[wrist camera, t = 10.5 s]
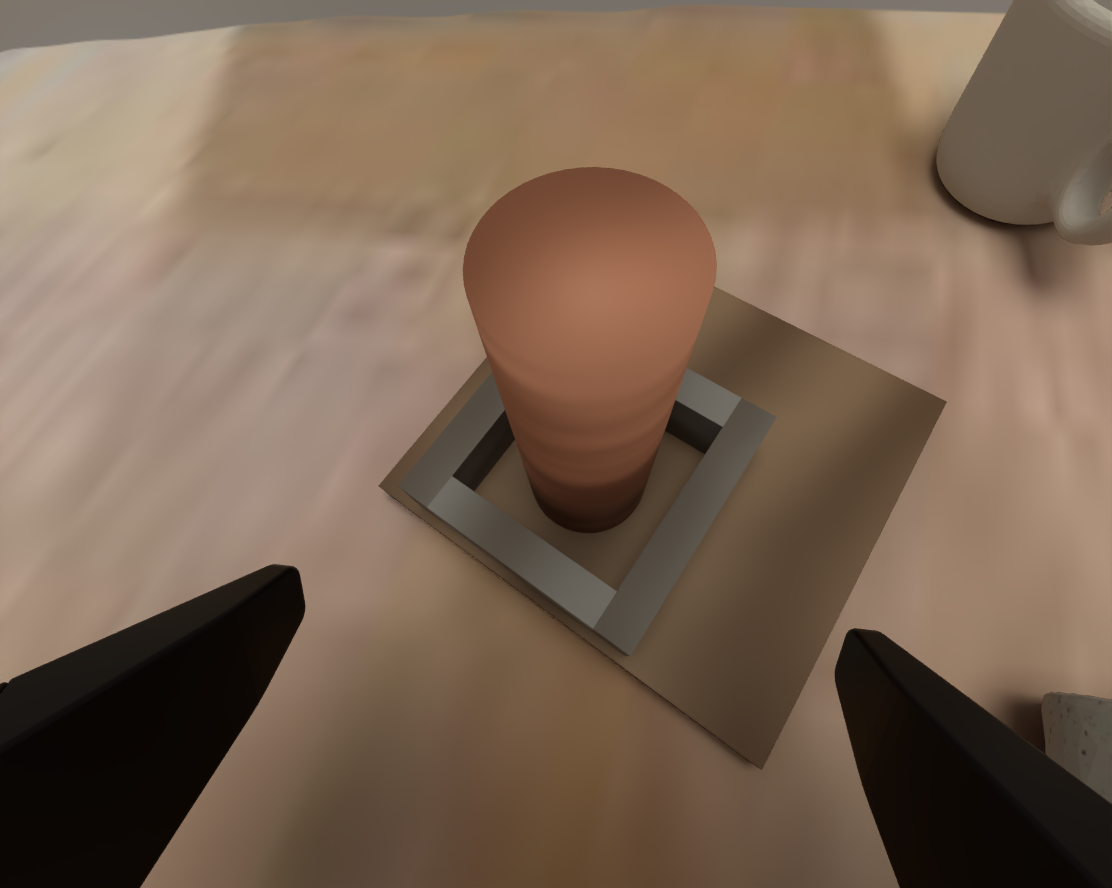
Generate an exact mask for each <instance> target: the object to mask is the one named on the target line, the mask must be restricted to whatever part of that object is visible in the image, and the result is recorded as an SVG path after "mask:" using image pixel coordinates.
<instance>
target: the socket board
mask: <svg viewBox="0 0 1112 888" xmlns="http://www.w3.org/2000/svg"><path fill="white" fill-rule="evenodd" d="M945 404H946V401H944V400H942V399H940V398H938V397H936V396H934V395H932V394H930V393H928V392H926V391H924V390H922V389H920V388H918V387H916V386H914V385H912V384H910V383H908V382H906V381H904V380H902V379H900V378H898V377H896V376H894V375H892V374H890V373H888V372H886V371H884V370H882V369H880V368H878V367H876V366H874V365H872V364H870V363H868V362H866V361H864V360H862V359H860V358H858V357H856V356H854V355H851V354H849V353H847V352H845V351H843V350H841V349H839V348H837V347H835V346H833V345H831V344H829V343H827V342H825V341H823V340H821V339H819V338H817V337H815V336H813V335H811V334H809V333H807V332H805V331H803V330H801V329H799V328H797V327H795V326H793V325H791V324H789V323H787V322H785V321H783V320H781V319H779V318H777V317H775V316H773V315H771V314H769V313H767V312H765V311H763V310H761V309H759V308H757V307H755V306H753V305H751V304H749V303H747V302H745V301H743V300H741V299H739V298H737V297H735V296H733V295H731V294H729V293H726V292H724V291H722V290H720V289H718V288H716V287H714V289H713V292H712V295H711V298H710V301H709V304H708V307H707V310H706V313H705V316H704V318H703V321H702V324H701V327H700V330H699V333H698V336H697V339H696V342H695V345H694V347H693V350H692V353H691V356H690V359H689V362H688V365H687V368H686V371H685V374H684V377H683V379H682V382H681V385H680V388H679V391H678V394H677V397H676V400H675V403H674V406H673V408H672V411H671V414H670V417H669V420H668V423H667V426H666V429H665V432H664V435H663V437H662V440H661V443H660V446H659V449H658V452H657V455H656V458H655V461H654V464H653V466H652V469H651V472H650V475H649V478H648V481H647V484H646V487H645V490H644V493H643V495H642V498H641V501H640V503H639V504H638V506H637V508H636V509H635V511H634V512H633V513H632V514H631V515H630V516H629V517H628V518H627V519H626V520H625V521H624V522H622V523H621V524H619V525H617V526H616V527H614V528H611V529H609V530H606V531H602V532H597V533H580V532H574V531H571V530H568V529H565V528H563V527H561V526H559V525H558V524H556V523H554V522H553V521H552V520H551V519H549V518H548V517H547V516H546V515H545V514H544V512H543V511H542V510H541V508H540V507H539V505H538V503H537V502H536V499H535V497H534V494H533V491H532V488H531V485H530V482H529V479H528V476H527V474H526V471H525V468H524V465H523V462H522V459H521V456H520V453H519V450H518V447H517V444H516V441H515V438H514V435H513V432H512V429H511V426H510V423H509V420H508V417H507V414H506V411H505V408H504V405H503V402H502V399H501V396H500V393H499V390H498V388H497V385H496V382H495V379H494V376H493V373H492V370H491V367H490V364H489V361H488V358H486V359H485V360H484V361H483V362H482V363H481V365H480V366H479V367H478V368H477V369H476V371H475V372H474V373H473V374H472V375H471V377H470V378H469V379H468V380H467V381H466V382H465V384H464V385H463V386H462V387H461V388H460V390H459V391H458V392H457V393H456V394H455V396H454V397H453V398H452V399H451V400H450V401H449V403H448V404H447V405H446V406H445V407H444V409H443V410H442V411H441V412H440V413H439V415H438V416H437V417H436V418H435V419H434V421H433V422H432V423H431V424H430V425H429V426H428V428H427V429H426V430H425V431H424V432H423V434H422V435H421V436H420V437H419V438H418V440H417V441H416V442H415V443H414V444H413V445H412V447H411V448H410V449H409V450H408V451H407V453H406V454H405V455H404V456H403V457H402V459H401V460H400V461H399V462H398V463H397V464H396V466H395V467H394V468H393V469H392V470H391V472H390V473H389V474H388V475H387V476H386V478H385V479H384V480H383V481H382V482H381V483H380V485H379V487H380V488H382V489H383V490H384V491H385V492H387V493H388V494H389V495H391V496H392V497H393V498H395V499H396V500H397V501H399V502H400V503H401V504H403V505H404V506H405V507H407V508H408V509H409V510H411V511H412V512H413V513H415V514H416V515H418V516H419V517H420V518H422V519H423V520H424V521H426V522H427V523H428V524H430V525H431V526H432V527H434V528H435V529H436V530H438V531H439V532H440V533H442V534H443V535H445V536H446V537H447V538H449V539H450V540H451V541H453V542H454V543H455V544H457V545H458V546H459V547H461V548H462V549H463V550H465V551H466V552H467V553H469V554H470V555H472V556H473V557H474V558H476V559H477V560H478V561H480V562H481V563H482V564H484V565H485V566H486V567H488V568H489V569H490V570H492V571H493V572H494V573H496V574H497V575H498V576H500V577H501V578H503V579H504V580H505V581H507V582H508V583H509V584H511V585H512V586H513V587H515V588H516V589H517V590H519V591H520V592H521V593H523V594H524V595H525V596H527V597H528V598H530V599H531V600H532V601H534V602H535V603H536V604H538V605H539V606H540V607H542V608H543V609H544V610H546V611H547V612H548V613H550V614H551V615H552V616H554V617H555V618H557V619H558V620H559V621H561V622H562V623H563V624H565V625H566V626H567V627H569V628H570V629H571V630H573V631H574V632H575V633H577V634H578V635H579V636H581V637H582V638H583V639H585V640H586V641H588V642H589V643H590V644H592V645H593V646H594V647H596V648H597V649H598V650H600V651H601V652H602V653H604V654H605V655H606V656H608V657H609V658H610V659H612V660H613V661H615V662H616V663H617V664H619V665H620V666H621V667H623V668H624V669H625V670H627V671H628V672H629V673H631V674H632V675H633V676H635V677H636V678H637V679H639V680H640V681H642V682H643V683H644V684H646V685H647V686H648V687H650V688H651V689H652V690H654V691H655V692H656V693H658V694H659V695H660V696H662V697H663V698H664V699H666V700H667V701H668V702H670V703H671V704H673V705H674V706H675V707H677V708H678V709H679V710H681V711H682V712H683V713H685V714H686V715H687V716H689V717H690V718H691V719H693V720H694V721H695V722H697V723H698V724H700V725H701V726H702V727H704V728H705V729H706V730H708V731H709V732H710V733H712V734H713V735H714V736H716V737H717V738H718V739H720V740H721V741H722V742H724V743H725V744H727V745H728V746H729V747H731V748H732V749H733V750H735V751H736V752H737V753H739V754H740V755H741V756H743V757H744V758H745V759H747V760H748V761H749V762H751V763H752V764H754V765H755V766H757V767H758V768H760V769H761V770H762V768H763V766H764V764H765V762H766V760H767V758H768V756H769V754H770V752H771V750H772V748H773V746H774V744H775V742H776V740H777V738H778V736H779V734H780V732H781V730H782V728H783V726H784V724H785V722H786V721H787V719H788V717H789V715H790V713H791V711H792V709H793V707H794V705H795V703H796V701H797V699H798V697H799V695H800V693H801V691H802V689H803V687H804V685H805V683H806V681H807V679H808V677H809V675H810V673H811V671H812V669H813V667H814V665H815V663H816V661H817V659H818V657H819V655H820V653H821V651H822V649H823V647H824V645H825V643H826V641H827V639H828V637H829V635H830V633H831V631H832V629H833V627H834V625H835V623H836V621H837V619H838V617H839V615H840V613H841V611H842V609H843V607H844V605H845V603H846V601H847V599H848V597H849V595H850V593H851V591H852V589H853V587H854V585H855V583H856V581H857V579H858V577H859V575H860V573H861V571H862V569H863V567H864V565H865V563H866V561H867V559H868V557H869V555H870V553H871V551H872V549H873V547H874V545H875V543H876V541H877V540H878V538H879V536H880V534H881V532H882V530H883V528H884V526H885V524H886V522H887V520H888V518H889V516H890V514H891V512H892V510H893V508H894V506H895V504H896V502H897V500H898V498H899V496H900V494H901V492H902V490H903V488H904V486H905V484H906V482H907V480H908V478H909V476H910V474H911V472H912V470H913V468H914V466H915V464H916V462H917V460H918V458H919V456H920V454H921V452H922V450H923V448H924V446H925V444H926V442H927V440H928V438H929V436H930V434H931V432H932V430H933V428H934V426H935V424H936V422H937V420H938V418H939V416H940V414H941V412H942V410H943V408H944V406H945Z"/></svg>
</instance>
